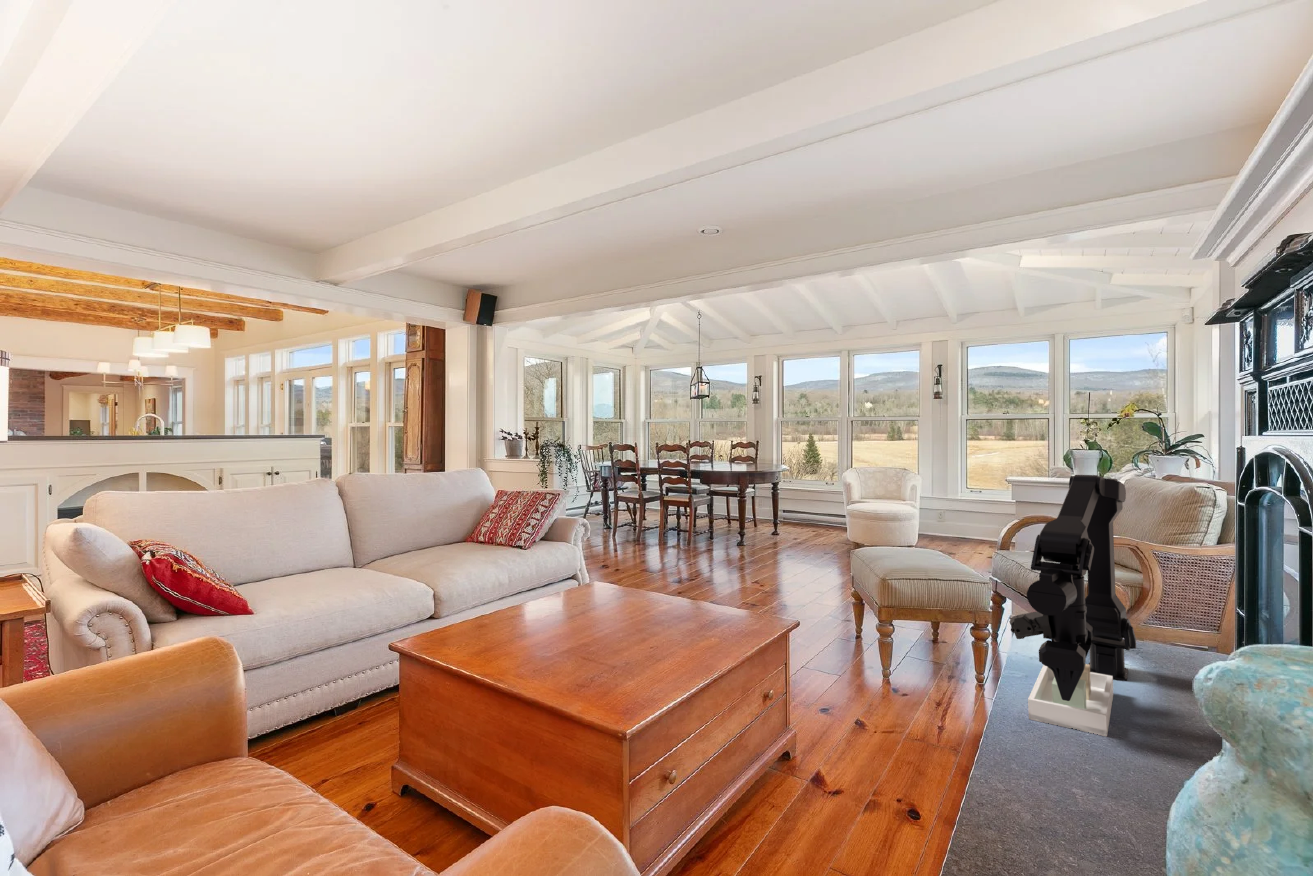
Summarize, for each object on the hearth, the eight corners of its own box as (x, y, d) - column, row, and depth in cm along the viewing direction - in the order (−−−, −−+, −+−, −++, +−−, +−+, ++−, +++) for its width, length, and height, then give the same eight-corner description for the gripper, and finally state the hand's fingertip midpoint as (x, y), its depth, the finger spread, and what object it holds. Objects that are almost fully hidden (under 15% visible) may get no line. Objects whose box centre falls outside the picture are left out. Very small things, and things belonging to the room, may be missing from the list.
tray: (1044, 681, 122) (1043, 664, 122) (1113, 694, 115) (1112, 676, 115) (1028, 719, 107) (1028, 699, 107) (1106, 736, 100) (1106, 715, 100)
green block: (1056, 702, 111) (1055, 675, 111) (1086, 708, 108) (1085, 680, 108) (1053, 712, 107) (1051, 683, 107) (1084, 718, 104) (1083, 689, 104)
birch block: (1062, 685, 117) (1061, 659, 117) (1090, 691, 114) (1089, 664, 114) (1059, 694, 114) (1058, 667, 114) (1088, 700, 111) (1087, 672, 111)
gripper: (1021, 584, 120) (1024, 663, 120) (1002, 608, 105) (1006, 699, 105) (1091, 591, 113) (1094, 676, 113) (1081, 618, 98) (1085, 716, 98)
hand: (1068, 690), depth 108 cm, fingers open, 9 cm apart
